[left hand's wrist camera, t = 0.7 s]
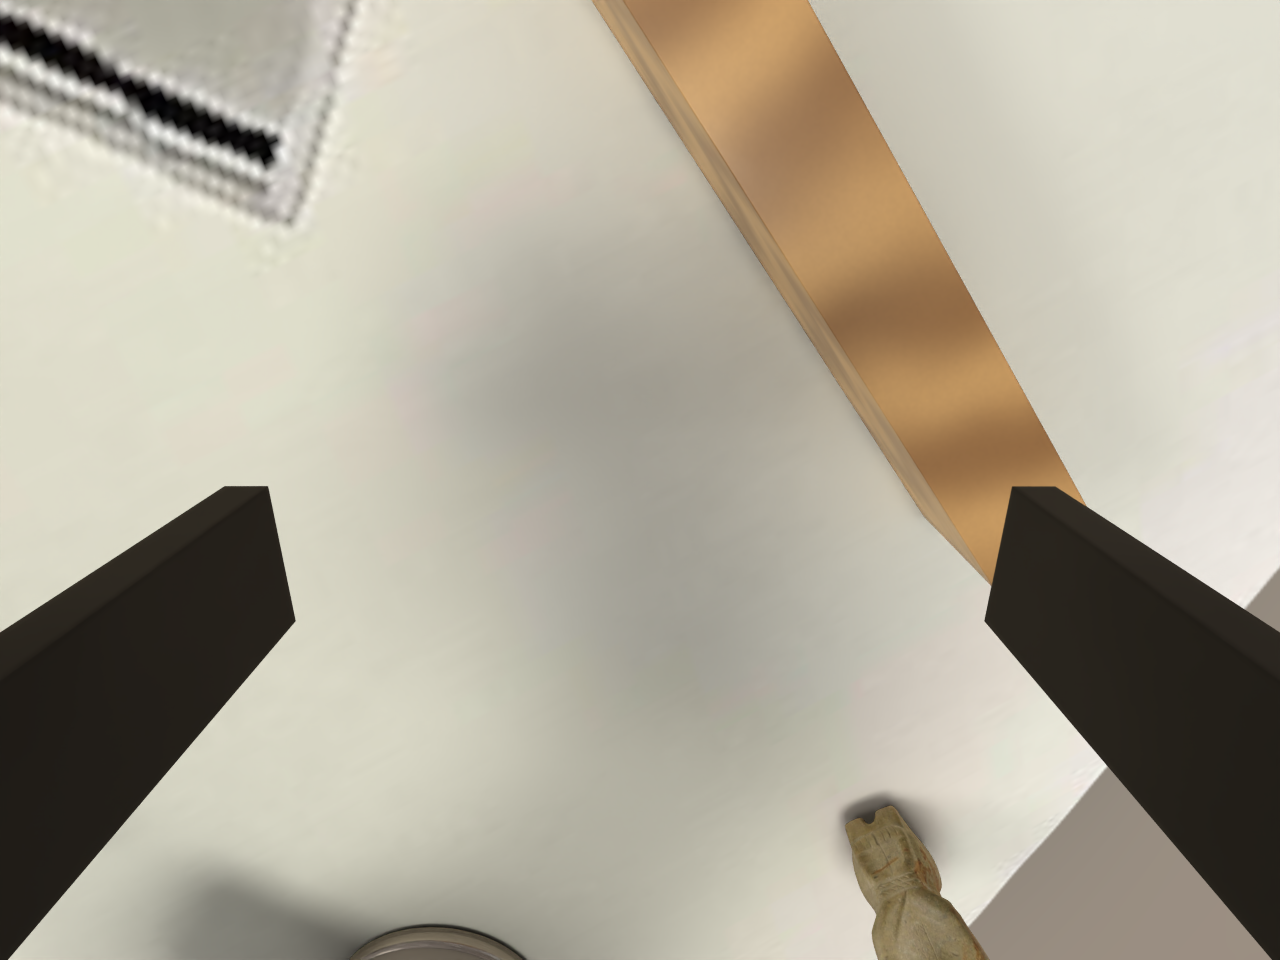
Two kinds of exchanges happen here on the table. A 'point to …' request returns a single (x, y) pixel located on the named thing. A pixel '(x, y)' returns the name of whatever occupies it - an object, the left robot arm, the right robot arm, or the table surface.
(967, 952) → the sculpture
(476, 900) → the table surface
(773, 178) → the post
